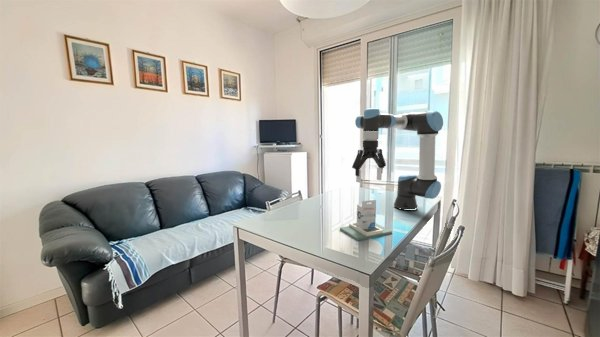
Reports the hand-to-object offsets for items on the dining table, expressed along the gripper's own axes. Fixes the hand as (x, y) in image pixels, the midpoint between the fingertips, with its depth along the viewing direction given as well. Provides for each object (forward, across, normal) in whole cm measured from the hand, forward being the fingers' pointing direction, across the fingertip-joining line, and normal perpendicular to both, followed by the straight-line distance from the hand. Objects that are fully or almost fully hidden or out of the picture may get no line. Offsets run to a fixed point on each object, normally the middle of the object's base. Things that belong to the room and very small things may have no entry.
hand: (368, 181), depth 128 cm
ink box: (+24, +2, +2) cm, 24 cm away
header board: (+27, +2, +2) cm, 27 cm away
